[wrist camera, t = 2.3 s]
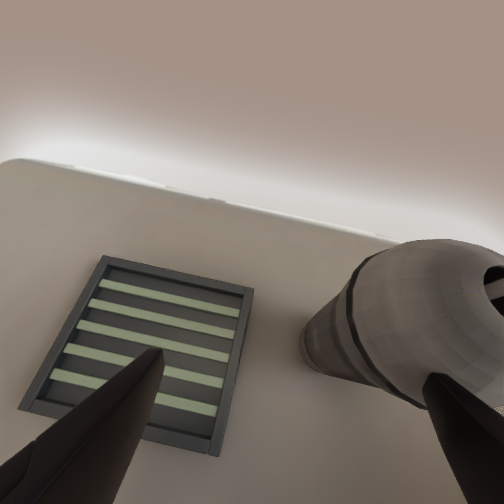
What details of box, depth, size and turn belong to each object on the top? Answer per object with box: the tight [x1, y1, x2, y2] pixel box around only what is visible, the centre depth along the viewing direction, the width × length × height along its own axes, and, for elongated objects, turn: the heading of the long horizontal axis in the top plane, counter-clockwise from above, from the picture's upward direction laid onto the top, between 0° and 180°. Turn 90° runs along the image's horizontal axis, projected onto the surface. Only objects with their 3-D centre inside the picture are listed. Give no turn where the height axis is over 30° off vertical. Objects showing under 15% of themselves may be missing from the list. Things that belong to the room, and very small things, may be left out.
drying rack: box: [17, 255, 254, 457], centre depth 20 cm, size 14×12×2 cm
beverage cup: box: [299, 239, 504, 410], centre depth 12 cm, size 7×7×20 cm
